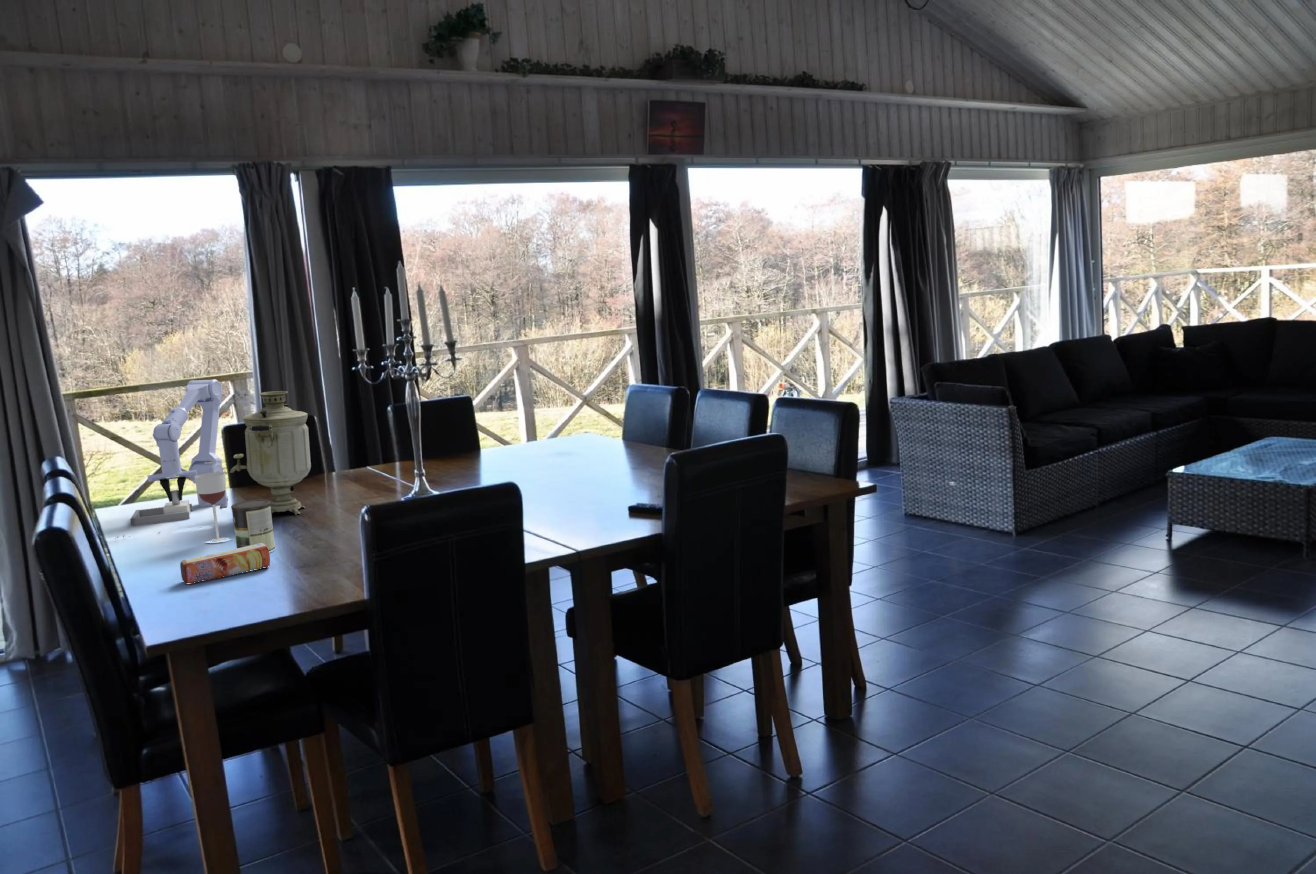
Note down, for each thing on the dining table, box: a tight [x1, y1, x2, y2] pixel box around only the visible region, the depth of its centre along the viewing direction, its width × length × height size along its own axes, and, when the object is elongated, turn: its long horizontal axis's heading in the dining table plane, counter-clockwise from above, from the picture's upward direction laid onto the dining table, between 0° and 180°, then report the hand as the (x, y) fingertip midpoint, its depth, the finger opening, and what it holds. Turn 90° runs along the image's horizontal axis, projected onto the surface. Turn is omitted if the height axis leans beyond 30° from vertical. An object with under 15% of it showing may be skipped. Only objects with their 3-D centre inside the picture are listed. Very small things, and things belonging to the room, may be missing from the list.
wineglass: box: [194, 471, 227, 542], centre depth 307 cm, size 8×9×20 cm
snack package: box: [179, 543, 271, 584], centre depth 270 cm, size 21×7×7 cm, turn 126°
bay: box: [130, 503, 194, 527], centre depth 339 cm, size 17×14×4 cm
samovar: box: [229, 390, 312, 516], centre depth 340 cm, size 30×26×40 cm
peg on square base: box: [163, 489, 191, 516], centre depth 340 cm, size 7×9×8 cm
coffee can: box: [230, 499, 276, 551], centre depth 292 cm, size 10×10×14 cm
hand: (175, 500), depth 340 cm, fingers closed on peg on square base, 2 cm apart
